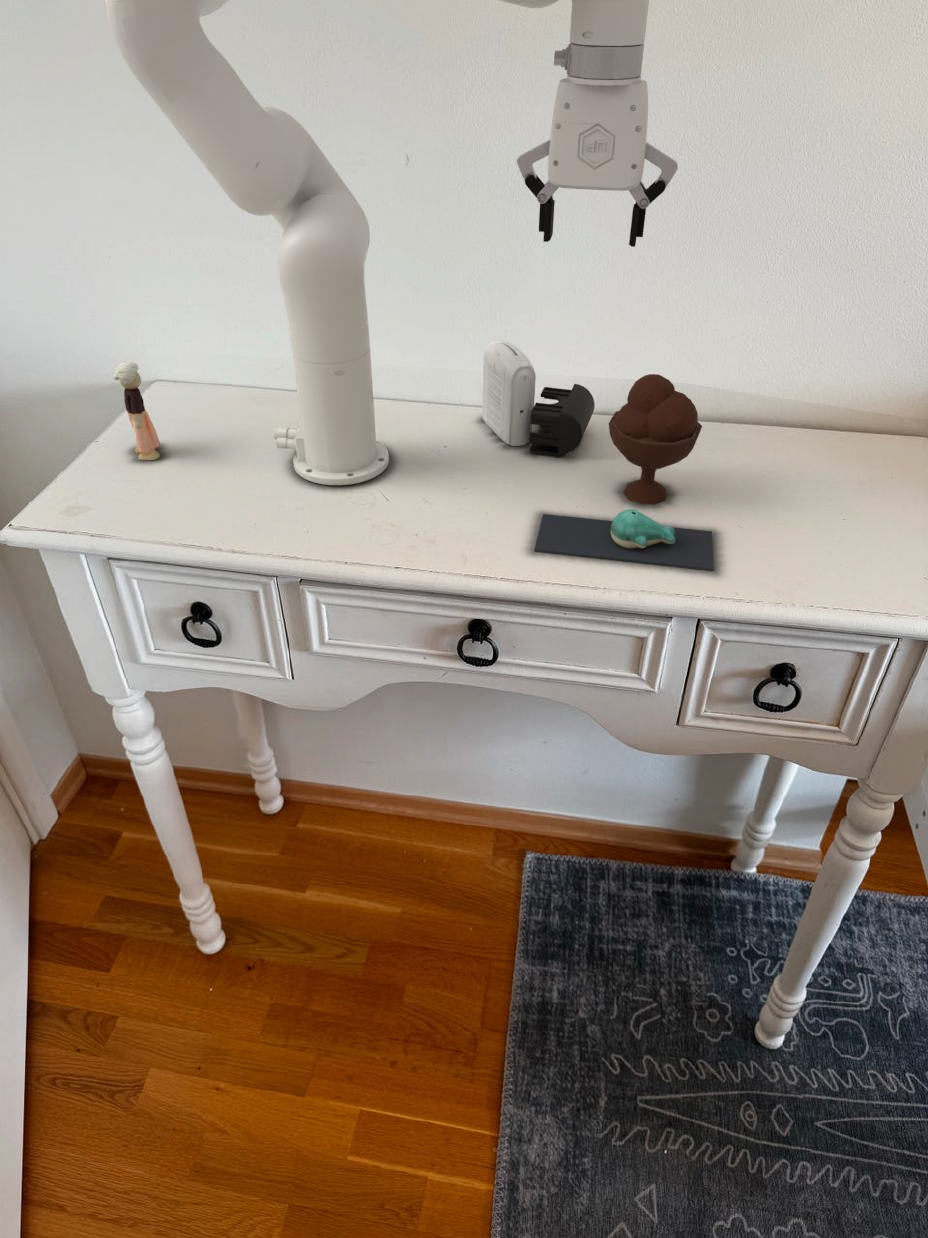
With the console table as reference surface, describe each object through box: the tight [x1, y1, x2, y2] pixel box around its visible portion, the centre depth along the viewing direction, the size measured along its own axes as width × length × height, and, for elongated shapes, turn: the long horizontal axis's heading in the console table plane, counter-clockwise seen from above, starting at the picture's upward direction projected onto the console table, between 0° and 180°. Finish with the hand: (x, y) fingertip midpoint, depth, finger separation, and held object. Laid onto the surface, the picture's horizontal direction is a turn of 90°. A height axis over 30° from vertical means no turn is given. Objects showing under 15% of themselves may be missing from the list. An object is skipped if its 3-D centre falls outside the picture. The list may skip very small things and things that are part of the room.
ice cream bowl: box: [608, 373, 703, 505], centre depth 107 cm, size 11×11×15 cm
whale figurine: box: [611, 508, 675, 548], centre depth 101 cm, size 6×7×4 cm
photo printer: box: [481, 340, 537, 447], centre depth 122 cm, size 10×4×12 cm, turn 23°
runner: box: [533, 513, 714, 572], centre depth 103 cm, size 20×8×1 cm, turn 79°
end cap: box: [528, 383, 595, 458], centre depth 121 cm, size 10×7×7 cm
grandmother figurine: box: [112, 361, 161, 461], centre depth 117 cm, size 8×4×13 cm, turn 35°
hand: (589, 240), depth 101 cm, fingers open, 9 cm apart
